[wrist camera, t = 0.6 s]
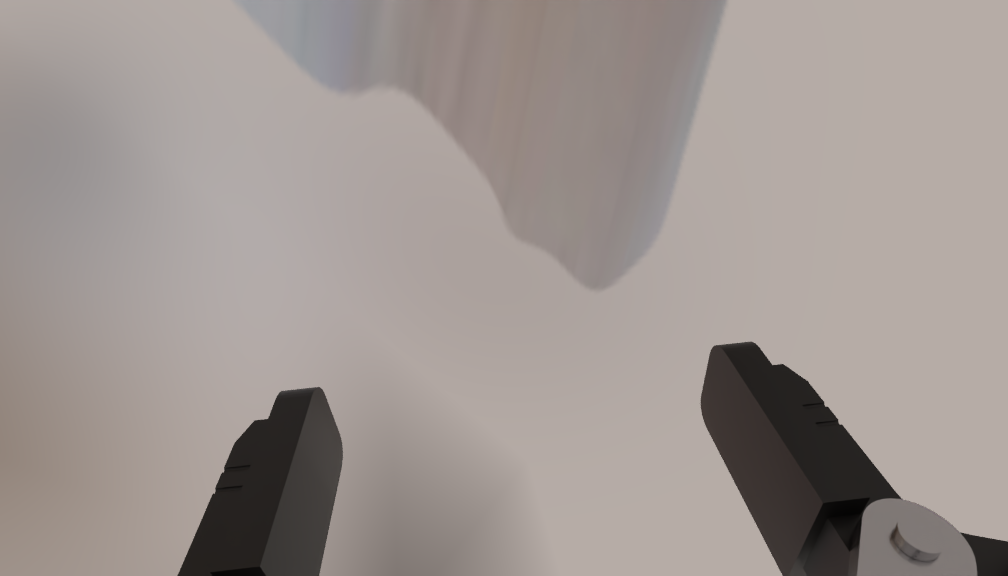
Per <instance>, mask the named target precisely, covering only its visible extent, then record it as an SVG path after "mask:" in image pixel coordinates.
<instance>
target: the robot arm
mask: <svg viewBox="0 0 1008 576" xmlns="http://www.w3.org/2000/svg"><path fill="white" fill-rule="evenodd" d="M701 410H702V416H703V419H704V422H705V425H706V427H707V429H708V431H709V433H710V435H711V437H712V439H713V441H714V443H715V445H716V447H717V449H718V451H719V453H720V455H721V457H722V458H723V460H724V462H725V464H726V466H727V468H728V470H729V472H730V474H731V476H732V478H733V480H734V482H735V484H736V486H737V487H738V490H739V491H740V493H741V495H742V497H743V499H744V501H745V503H746V505H747V507H748V509H749V511H750V513H751V515H752V517H753V519H754V521H755V522H756V524H757V526H758V528H759V530H760V532H761V534H762V536H763V538H764V540H765V542H766V544H767V546H768V548H769V550H770V552H771V554H772V556H773V557H774V559H775V561H776V563H777V565H778V567H779V569H780V571H781V573H782V575H783V576H1008V542H1007V541H1001V540H996V539H990V538H985V537H979V536H973V535H969V534H964V533H960V532H959V531H958V530H957V529H956V528H955V527H954V526H953V525H951V524H950V523H949V522H948V521H947V520H945V519H944V518H943V517H941V516H939V515H938V514H937V513H935V512H933V511H931V510H930V509H928V508H926V507H923V506H921V505H919V504H916V503H913V502H910V501H906V500H903V499H901V498H900V496H899V495H898V494H897V493H896V492H895V491H894V489H893V488H892V487H891V486H890V484H889V483H888V482H887V481H886V479H885V478H884V477H883V476H882V474H881V473H880V472H879V471H878V469H877V468H876V467H875V466H874V464H873V463H872V462H871V460H870V459H869V458H868V457H867V456H866V454H865V453H864V452H863V450H862V449H861V448H860V447H859V445H858V444H857V443H856V442H855V441H854V439H853V438H852V437H851V435H850V434H849V433H848V432H847V430H846V429H845V428H844V427H843V425H839V423H838V419H837V418H836V416H835V415H834V414H833V413H832V412H831V410H830V409H829V408H828V407H825V405H824V401H823V400H822V399H821V398H820V397H819V395H818V394H817V393H816V391H815V390H814V389H813V388H812V386H811V385H810V384H809V382H808V381H806V380H805V379H803V378H802V377H801V376H799V375H798V374H796V373H795V372H794V371H792V370H791V369H789V368H788V367H786V366H785V365H783V364H780V365H772V364H771V363H770V361H769V360H768V359H767V357H766V356H765V355H764V353H763V352H762V351H761V349H760V348H759V347H758V346H757V345H756V344H755V343H753V342H744V343H735V344H726V345H716V346H714V347H713V348H712V350H711V352H710V356H709V361H708V366H707V371H706V375H705V380H704V385H703V390H702V395H701ZM342 458H343V451H342V442H341V437H340V434H339V431H338V428H337V426H336V423H335V420H334V418H333V415H332V412H331V410H330V407H329V404H328V402H327V399H326V396H325V394H324V392H323V390H322V389H321V388H320V387H317V388H316V387H315V388H306V389H297V390H288V391H281V392H280V393H279V394H278V396H277V398H276V400H275V403H274V405H273V408H272V410H271V413H270V416H269V418H268V419H265V420H256V421H254V422H253V423H252V424H251V425H250V426H249V428H248V429H247V430H246V431H245V432H244V433H243V434H242V436H241V437H240V438H239V439H238V440H237V441H236V442H235V444H234V446H233V448H232V451H231V453H230V455H229V458H228V460H227V463H226V465H225V467H224V470H225V471H224V473H222V474H221V476H220V479H219V481H218V483H217V485H216V488H215V489H216V492H215V494H213V495H212V497H211V499H210V502H209V504H208V506H207V509H206V511H205V513H204V516H203V519H202V521H201V523H200V525H199V528H198V530H197V532H196V534H195V537H194V539H193V542H192V544H191V546H190V548H189V551H188V553H187V555H186V558H185V560H184V562H183V565H182V567H181V569H180V572H179V574H178V576H319V573H320V568H321V563H322V558H323V554H324V548H325V543H326V539H327V534H328V530H329V525H330V520H331V515H332V510H333V506H334V501H335V496H336V491H337V486H338V482H339V477H340V472H341V467H342Z"/></svg>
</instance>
